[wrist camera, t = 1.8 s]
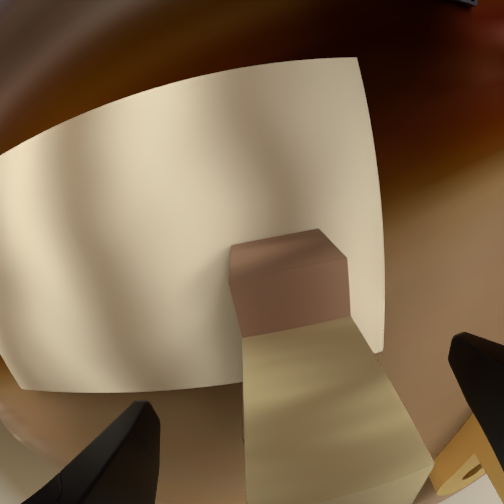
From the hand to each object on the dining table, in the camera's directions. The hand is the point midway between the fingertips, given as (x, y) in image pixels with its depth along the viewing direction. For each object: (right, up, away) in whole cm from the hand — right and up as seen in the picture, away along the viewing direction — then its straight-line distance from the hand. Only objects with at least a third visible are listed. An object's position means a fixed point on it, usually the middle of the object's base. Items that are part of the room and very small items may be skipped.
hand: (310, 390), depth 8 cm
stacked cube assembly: (0, +1, +6) cm, 6 cm away
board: (-7, +4, +6) cm, 9 cm away
